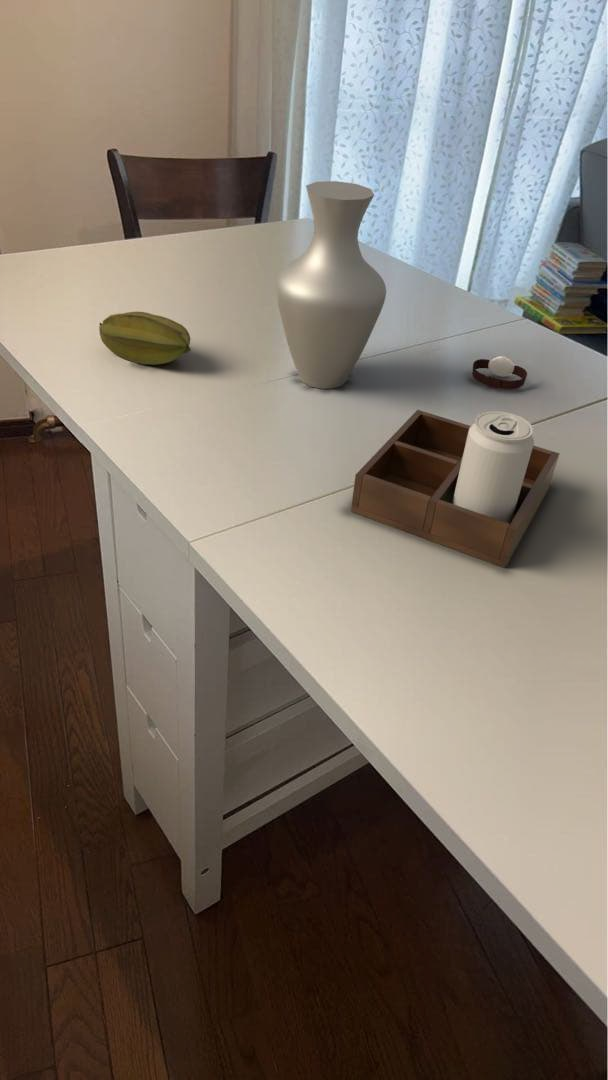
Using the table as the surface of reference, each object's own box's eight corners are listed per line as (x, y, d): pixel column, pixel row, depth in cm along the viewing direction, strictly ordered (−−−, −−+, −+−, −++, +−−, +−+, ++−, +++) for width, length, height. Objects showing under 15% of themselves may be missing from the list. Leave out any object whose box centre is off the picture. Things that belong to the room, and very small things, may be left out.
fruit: (177, 339, 118) (176, 295, 114) (193, 375, 109) (193, 329, 105) (98, 344, 115) (94, 299, 111) (108, 382, 106) (104, 335, 102)
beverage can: (440, 528, 83) (462, 428, 76) (460, 499, 88) (482, 402, 81) (499, 549, 81) (527, 448, 74) (516, 518, 86) (544, 420, 79)
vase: (395, 385, 111) (424, 196, 96) (318, 413, 103) (337, 212, 88) (325, 348, 120) (342, 169, 104) (249, 371, 112) (256, 181, 96)
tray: (548, 488, 93) (559, 453, 90) (504, 568, 81) (516, 530, 78) (411, 443, 99) (417, 409, 96) (350, 511, 86) (355, 474, 84)
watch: (525, 381, 115) (531, 358, 113) (521, 395, 112) (527, 371, 110) (473, 370, 117) (478, 347, 115) (467, 383, 113) (472, 359, 111)
